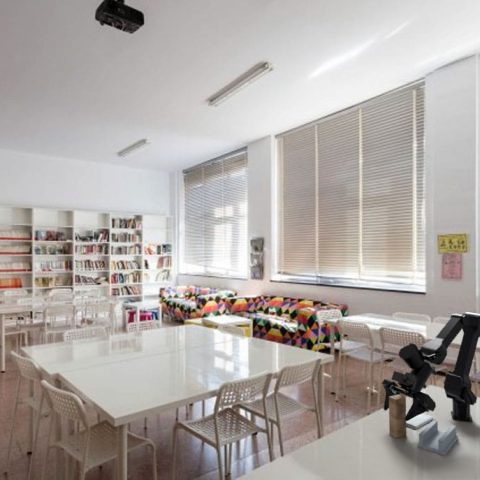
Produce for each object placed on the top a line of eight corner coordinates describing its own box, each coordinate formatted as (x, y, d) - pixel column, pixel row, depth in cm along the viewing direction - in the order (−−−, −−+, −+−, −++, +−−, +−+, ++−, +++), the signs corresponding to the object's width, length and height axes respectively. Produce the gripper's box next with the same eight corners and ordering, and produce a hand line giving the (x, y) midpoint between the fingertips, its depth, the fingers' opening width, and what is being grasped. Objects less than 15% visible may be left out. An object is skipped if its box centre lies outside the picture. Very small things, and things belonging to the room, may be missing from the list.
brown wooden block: (399, 431, 136) (398, 394, 136) (406, 435, 133) (405, 397, 133) (389, 434, 134) (388, 396, 134) (396, 437, 131) (395, 399, 132)
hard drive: (415, 426, 137) (433, 416, 145) (393, 418, 144) (411, 409, 152) (415, 431, 137) (433, 421, 145) (393, 422, 144) (412, 413, 152)
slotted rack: (432, 431, 136) (432, 419, 136) (458, 438, 130) (457, 426, 130) (417, 446, 126) (417, 433, 126) (444, 455, 120) (444, 441, 120)
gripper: (385, 355, 144) (361, 391, 139) (428, 369, 127) (404, 411, 122) (401, 374, 147) (379, 410, 143) (446, 390, 130) (422, 431, 126)
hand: (394, 414), depth 133 cm, fingers open, 9 cm apart
